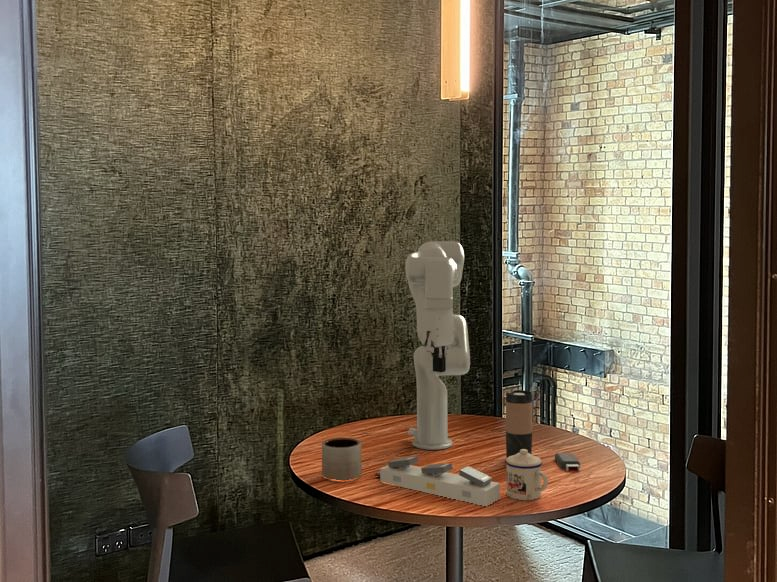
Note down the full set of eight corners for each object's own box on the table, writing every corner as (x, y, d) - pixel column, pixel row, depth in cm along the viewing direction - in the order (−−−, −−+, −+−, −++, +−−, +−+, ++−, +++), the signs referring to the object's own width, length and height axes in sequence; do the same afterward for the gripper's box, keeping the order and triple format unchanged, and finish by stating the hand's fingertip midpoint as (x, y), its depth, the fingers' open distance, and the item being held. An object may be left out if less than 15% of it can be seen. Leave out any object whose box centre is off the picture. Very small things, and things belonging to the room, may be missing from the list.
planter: (331, 485, 203) (331, 450, 203) (316, 474, 213) (315, 440, 212) (368, 479, 208) (368, 444, 208) (351, 468, 218) (351, 435, 217)
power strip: (368, 480, 207) (367, 462, 207) (383, 473, 213) (383, 456, 212) (486, 507, 186) (486, 487, 185) (500, 498, 191) (500, 479, 191)
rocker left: (389, 467, 204) (387, 462, 205) (397, 463, 208) (396, 458, 208) (409, 465, 200) (408, 459, 201) (418, 461, 204) (417, 455, 204)
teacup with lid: (498, 494, 195) (498, 449, 194) (522, 486, 200) (522, 443, 200) (534, 507, 185) (534, 459, 185) (558, 498, 191) (559, 452, 190)
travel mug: (532, 464, 220) (532, 395, 218) (505, 463, 221) (505, 394, 220) (532, 457, 227) (532, 390, 226) (506, 456, 229) (506, 389, 227)
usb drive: (572, 460, 225) (572, 451, 225) (582, 473, 213) (582, 463, 213) (554, 460, 225) (554, 451, 225) (563, 473, 213) (564, 463, 213)
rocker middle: (422, 473, 198) (420, 468, 198) (430, 469, 202) (429, 464, 202) (444, 472, 194) (443, 466, 194) (452, 468, 197) (451, 463, 197)
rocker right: (458, 475, 192) (460, 469, 191) (466, 471, 195) (468, 465, 195) (482, 487, 188) (484, 481, 188) (490, 482, 191) (491, 477, 191)
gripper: (441, 301, 217) (442, 366, 218) (411, 306, 204) (412, 374, 206) (464, 302, 212) (465, 368, 214) (435, 307, 200) (435, 377, 202)
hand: (439, 371), depth 210 cm, fingers closed
